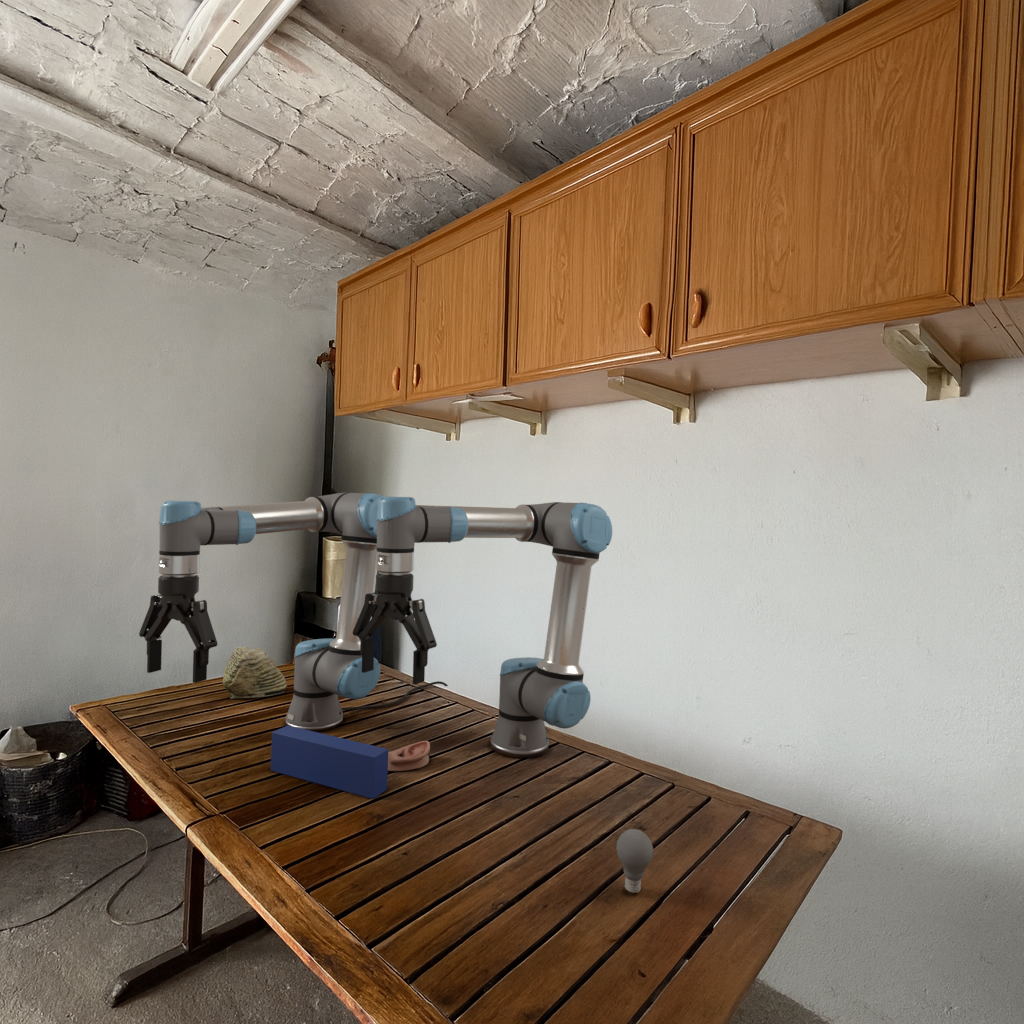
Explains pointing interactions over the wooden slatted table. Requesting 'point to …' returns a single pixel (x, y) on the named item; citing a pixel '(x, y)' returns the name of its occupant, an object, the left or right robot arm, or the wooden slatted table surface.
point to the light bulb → (634, 857)
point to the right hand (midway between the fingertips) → (392, 676)
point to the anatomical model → (409, 757)
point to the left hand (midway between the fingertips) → (176, 676)
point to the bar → (330, 761)
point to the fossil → (252, 674)
